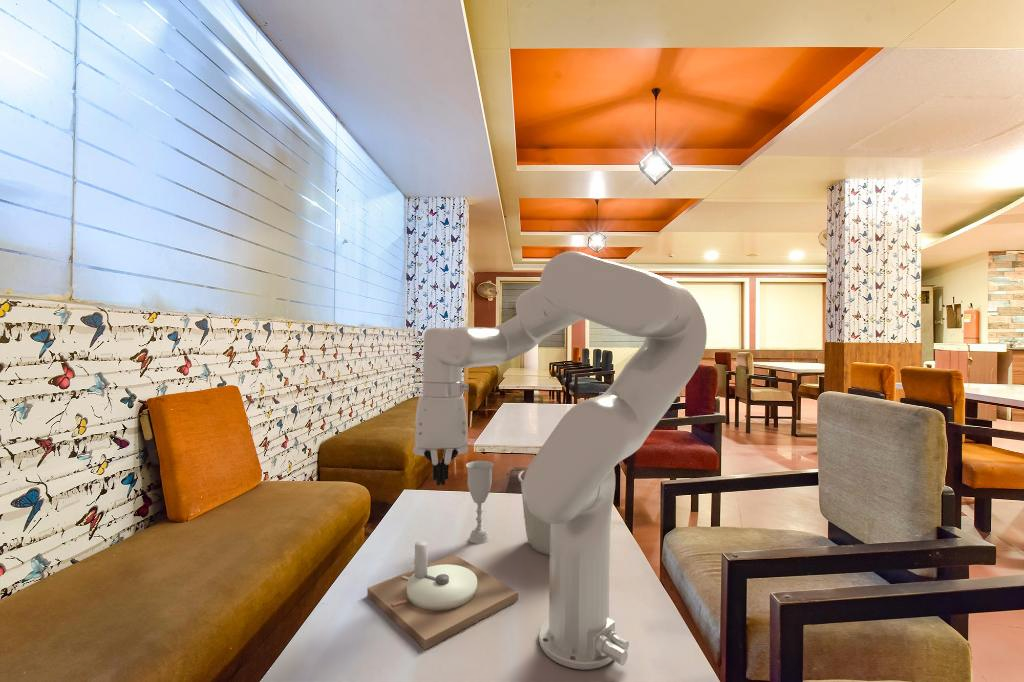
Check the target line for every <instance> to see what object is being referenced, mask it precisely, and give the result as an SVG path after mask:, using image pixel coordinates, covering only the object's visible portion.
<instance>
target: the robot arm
mask: <svg viewBox="0 0 1024 682" xmlns="http://www.w3.org/2000/svg"><path fill="white" fill-rule="evenodd" d="M539 282H540V283H539V284H537V285H535V286H533V287H532V288H530V289H527V290H525V291H524V292H522V293H521V294H520V295H519V296H518V297H517V298H516V301H515V311H516V313H515V314H516V315H514V316H513V317H511V318H510V319H508V320H506V321H504V322H503V323H501V324H498V325H496V326H494V327H480V326H459V327H453V328H450V327H431V328H428V329H426V330H425V331H424V333H423V361H422V363H423V365H422V367H423V368H422V370H423V371H422V395H421V396H419V397H418V400H417V404H416V412H415V422H414V423H415V425H414V442H415V443H414V446H413V449H412V452H413V455H417V456H422V457H425V458H426V459H428V460H429V462H430V463H432V481H435V483H436V486H440V485H441V486H446V480H449V466H450V464H451V462H452V461H453V460H454V459H455V458H456V457H457V456H458V455H463V454H466V453H468V452H469V447H468V416H467V415H468V413H467V405H466V400H465V396H462V394H463V393H465V392H469V390H470V389H469V388H470V387H469V386H470V385H469V384H465V383H463V382H462V380H463V379H462V376H463V375H462V373H463V371H462V370H463V369H462V368H464V369H465V368H467V369H468V368H477V367H494V366H498V365H502V364H505V363H507V362H509V361H512V360H513V359H516V358H517V357H520V356H522V355H525V354H526V353H527V352H530V351H531V350H532V349H534V348H535V347H536V346H538V345H539V344H541V342H542V341H543V339H545V338H548V337H549V336H551V335H553V334H556V333H557V332H559V331H561V330H563V329H566V328H567V327H570V326H572V325H574V324H576V323H579V322H581V321H582V320H587V321H590V322H592V323H594V324H598V325H601V326H603V327H606V328H609V329H611V330H614V331H617V332H619V333H622V334H624V335H629V336H633V337H636V338H637V337H638V338H645V340H644V342H643V344H642V345H641V346H640V347H639V349H638V350H637V351H636V353H635V354H633V356H632V357H631V358H630V359H629V360H628V362H627V363H626V364H625V365H624V367H623V368H622V370H620V371H621V372H620V373H619V374H618V376H617V377H616V378H615V380H614V381H613V382H612V384H611V385H610V386H609V388H607V390H606V391H605V392H603V393H602V394H600V395H598V396H594V397H590V398H588V399H587V398H586V399H584V400H582V401H580V402H578V403H577V404H575V405H573V406H572V407H571V408H570V409H569V410H568V411H567V412H566V413H565V414H564V415H563V416H562V418H561V419H560V420H559V422H558V423H557V425H556V426H555V427H554V429H553V431H552V432H551V433H550V434H549V436H548V437H547V439H546V441H544V443H543V445H542V446H541V448H540V449H539V450H538V451H537V454H536V455H535V456H534V458H533V459H532V461H531V462H530V464H529V465H528V467H527V468H528V469H527V471H526V474H525V477H524V481H523V496H524V500H525V503H526V506H527V507H528V509H529V511H530V512H531V513H532V514H533V515H534V516H535V517H536V518H537V519H539V520H541V521H543V522H546V523H549V524H551V527H550V555H549V572H548V573H549V575H548V576H549V579H548V580H549V582H548V583H549V585H548V586H549V587H548V590H549V592H548V594H549V595H548V618H547V619H545V621H544V622H543V623H542V624H541V626H540V628H539V632H538V642H539V646H540V648H541V650H542V651H543V652H544V654H545V655H546V656H547V657H549V658H550V659H551V660H552V661H554V662H555V663H558V664H560V665H562V666H564V667H566V668H567V667H568V668H571V669H574V670H575V669H577V670H595V669H598V668H601V667H604V666H606V665H608V664H610V663H611V662H612V661H614V662H615V663H617V664H619V665H621V666H624V665H625V664H626V663H627V661H628V656H629V655H628V649H629V645H630V643H629V641H628V640H627V639H625V638H623V637H621V636H619V635H618V634H617V631H615V630H616V621H615V620H614V619H612V618H610V570H611V569H610V566H611V565H610V563H611V562H610V558H611V554H610V553H611V552H610V550H611V524H612V513H613V506H614V505H613V504H614V499H615V498H614V497H615V490H616V473H615V467H616V466H617V465H618V464H619V463H620V462H622V461H623V460H625V459H627V458H628V457H631V456H632V455H633V454H634V453H635V452H637V451H638V450H640V448H641V447H642V446H643V445H644V443H645V441H646V440H647V438H648V437H649V435H650V434H651V433H652V431H653V430H654V429H655V427H657V425H658V423H659V422H660V421H661V419H662V418H663V417H664V416H665V415H666V413H667V412H668V410H669V409H670V408H671V406H672V405H673V403H674V402H675V400H676V399H677V398H678V396H679V395H680V393H682V391H683V390H684V389H685V387H686V386H687V384H688V383H689V381H690V380H691V378H692V377H693V376H694V374H695V372H696V371H697V369H698V367H699V365H700V363H701V361H702V360H703V357H704V354H705V350H706V345H707V336H708V332H707V323H706V320H705V316H704V313H703V311H702V308H701V307H700V304H699V303H698V301H697V300H696V298H695V297H694V295H692V293H691V292H690V291H689V290H688V289H686V288H685V287H684V286H683V285H682V284H680V283H678V282H676V281H673V280H672V279H668V278H665V277H664V276H660V275H657V274H655V273H653V272H649V271H646V270H641V269H638V268H635V267H630V266H627V265H623V264H620V263H617V262H613V261H610V260H609V261H608V260H605V259H601V258H599V257H595V256H593V255H589V254H586V253H584V252H580V251H575V250H569V251H565V252H561V253H559V254H557V255H555V256H553V257H552V258H551V259H550V260H548V262H547V263H546V264H545V266H544V267H543V270H542V272H541V276H540V281H539ZM438 450H443V457H442V459H441V461H440V459H439V458H438Z"/></svg>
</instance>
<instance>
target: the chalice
mask: <svg viewBox="0 0 1024 682" xmlns="http://www.w3.org/2000/svg"><path fill="white" fill-rule="evenodd" d="M494 465H495V463H493V462H492V461H487V460H474V461H469V462H467V463H466V464H465V466H466V469H467V488H468V491H469V493H470V496H471V498H472V500H473V503H475V504H476V505H477V507H476V508H477V509H476V511H475V512H476V514H477V516H476V518H475V520H476V523H477V524H476V527H474V528H473V529H472V530H471V532H470V535H469V537H468V541H469V542H470V543H472V544H477V545H479V544H486V543H487V542H489V541H490V537H489V533H488V531H487V529H486V528H484V527H483V526H482V521H483V520H484V519H483V517H482V514H483V509H482V504H483V503H486V500H487V498H488V495H489V494H490V491H491V488H492V485H493V477H492V476H493V467H494Z"/></svg>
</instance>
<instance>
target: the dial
mask: <svg viewBox="0 0 1024 682" xmlns="http://www.w3.org/2000/svg"><path fill="white" fill-rule="evenodd" d="M428 546H429V545H428V542H427V541H425V540H424V541H423V540H420V541H417V542H415V543H414V570H415V573H414V574H413V575H412V576H411V577H410V578H409V580H408V582H407V598H408V600H409V601H410V602H411V603H412V604H413V605H415V606H417V607H419V608H422V609H427V610H448V609H453V608H457V607H459V606H462V605H464V604H466V603H467V602H469V601H470V600H471V599H472V598H473V597H474V596H475V595H476V592H477V577H476V575H475V574H474V573H473V572H472V571H471V570H469V569H467V568H465V567H462V566H458V565H447V564H445V565H435V566H430V567H427V565H428V555H429V554H428V552H429V551H428Z"/></svg>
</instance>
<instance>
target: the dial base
mask: <svg viewBox="0 0 1024 682" xmlns="http://www.w3.org/2000/svg"><path fill="white" fill-rule="evenodd" d="M445 564H447V565H458V566H462V567H465V568H467V569H469V570H471V571H472V572H473V573H474V574H475V575H476V577H477V592H476V595H475V596H474V597H473V598H472V599H471V600H470V601H469V602H467V603H466V604H464V605H462V606H459V607H457V608H453V609H448V610H427V609H422V608H419V607H417V606H415V605H413V604H412V603H411V602H410V601H409V600H408V598H407V582H408V580H409V578H410V577H411V576H412V575H413V574H414V573H415V569H412V570H409V571H408V572H404V573H402V574H400V575H396V576H394V577H392V578H390V579H386V580H384V581H382V582H379V583H377V584H373V585H371V586H369V587H367V590H366V591H367V592H366V593H367V594H366V595H367V597H368V598H369V599H370V600H371V601H372V602H373V603H374V604H376V605H377V606H378V608H380V609H381V610H382V611H383V612H384V613H385V614H386V615H388V617H389V618H391V619H392V621H394V623H396V624H397V625H398V626H400V627H401V629H402V630H404V631H405V632H406V634H408V635H409V636H410V637H411V638H412V639H414V641H415V642H416V643H418V645H420V646H421V647H422V648H423V649H424V650H427V649H429V648H431V647H433V646H435V645H437V644H439V643H440V642H443V641H444V640H446V639H448V638H450V637H451V636H453V635H455V634H457V633H459V632H461V631H463V630H465V629H467V628H468V627H470V625H471V626H472V625H474V624H476V623H478V622H480V621H482V620H484V619H485V618H487V617H489V616H491V615H493V614H494V613H495V614H496V613H497V612H498V611H501V610H503V609H504V608H506V607H508V606H510V605H513V604H514V603H515V602H517V601H519V592H518V590H515V589H513V588H512V587H510V586H508V585H507V584H505V583H503V582H502V581H500V580H498V579H497V578H495V577H493V576H492V575H490V574H488V573H487V572H485V571H483V570H482V569H480V568H478V567H476V566H474V565H473V564H471V563H470V562H468V561H466V560H465V559H463V558H462V557H460V556H458V555H456V554H454V553H453V554H452V555H448V556H446V557H444V558H441V559H438V560H436V561H433V562H430V563H427V567H430V566H435V565H445ZM479 620H480V621H479ZM477 621H478V622H477ZM475 622H476V623H475ZM473 623H474V624H473Z"/></svg>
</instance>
